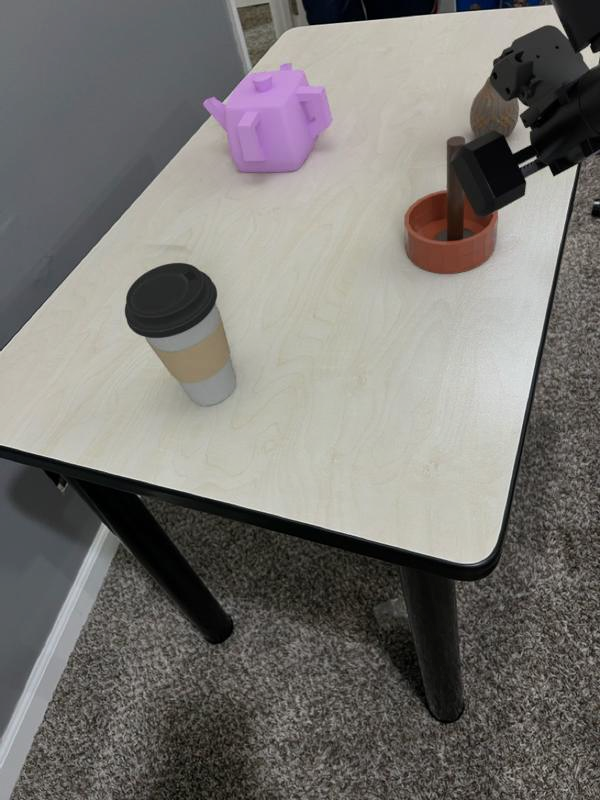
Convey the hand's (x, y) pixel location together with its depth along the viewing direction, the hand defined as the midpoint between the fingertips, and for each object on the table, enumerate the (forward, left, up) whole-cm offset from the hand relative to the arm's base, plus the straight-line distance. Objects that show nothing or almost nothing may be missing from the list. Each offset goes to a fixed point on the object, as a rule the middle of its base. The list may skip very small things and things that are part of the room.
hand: (502, 175), depth 61 cm
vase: (-11, -30, -14) cm, 35 cm away
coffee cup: (+36, +6, -14) cm, 39 cm away
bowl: (+3, -8, -14) cm, 16 cm away
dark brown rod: (+3, -7, -13) cm, 15 cm away
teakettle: (+21, -44, -14) cm, 51 cm away
